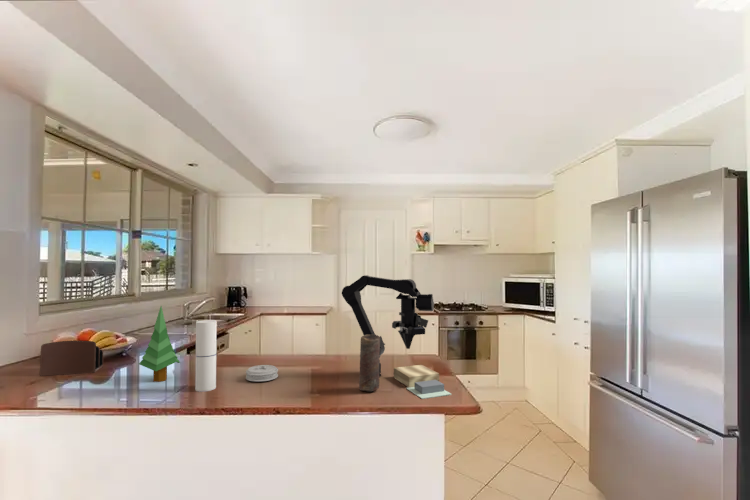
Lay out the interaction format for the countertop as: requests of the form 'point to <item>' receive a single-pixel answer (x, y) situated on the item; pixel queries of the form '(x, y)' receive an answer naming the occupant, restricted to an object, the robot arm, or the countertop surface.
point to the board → (414, 374)
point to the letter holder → (70, 358)
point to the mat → (429, 395)
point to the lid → (261, 373)
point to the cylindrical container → (205, 355)
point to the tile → (429, 386)
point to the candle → (369, 362)
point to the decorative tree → (159, 351)
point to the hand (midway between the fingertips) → (408, 348)
